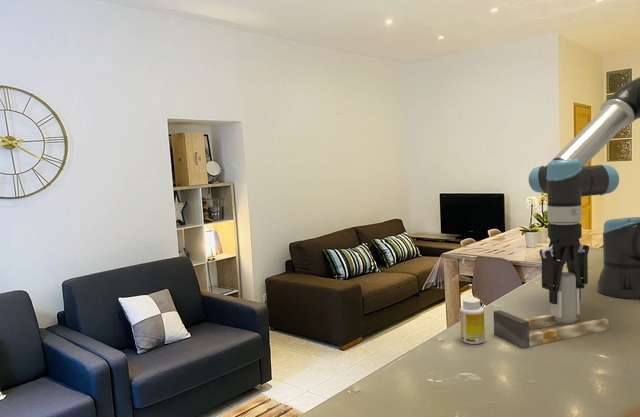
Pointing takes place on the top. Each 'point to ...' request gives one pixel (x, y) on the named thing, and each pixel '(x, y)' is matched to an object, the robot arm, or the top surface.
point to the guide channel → (519, 328)
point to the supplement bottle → (472, 321)
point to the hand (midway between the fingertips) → (565, 314)
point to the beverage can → (568, 298)
